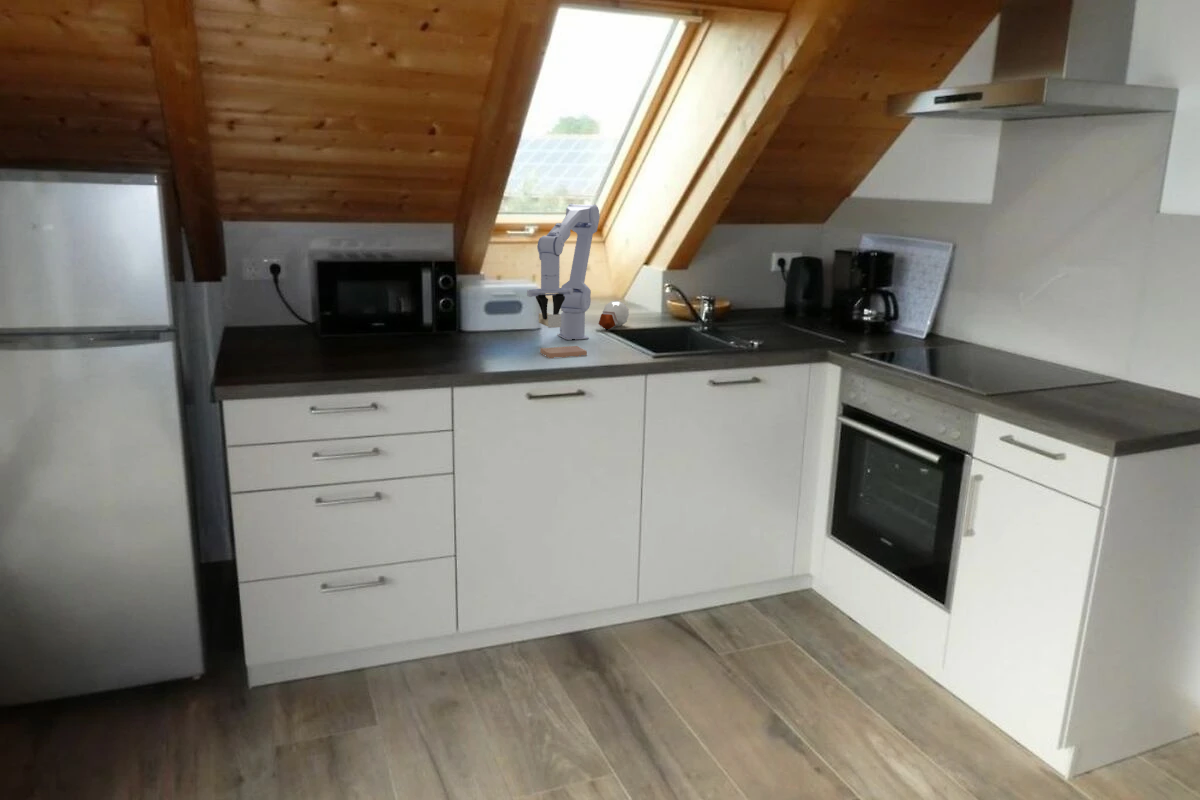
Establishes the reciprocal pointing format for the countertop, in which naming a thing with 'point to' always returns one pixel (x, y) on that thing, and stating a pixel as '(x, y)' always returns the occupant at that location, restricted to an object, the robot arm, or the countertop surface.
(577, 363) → the countertop surface
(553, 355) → the tile
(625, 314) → the potion bottle
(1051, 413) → the countertop surface
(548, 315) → the capped square post
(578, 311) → the robot arm
